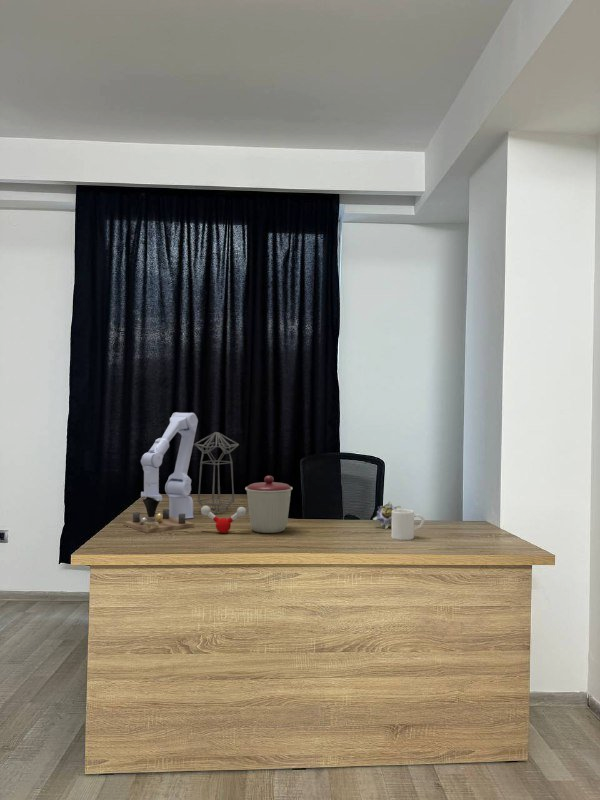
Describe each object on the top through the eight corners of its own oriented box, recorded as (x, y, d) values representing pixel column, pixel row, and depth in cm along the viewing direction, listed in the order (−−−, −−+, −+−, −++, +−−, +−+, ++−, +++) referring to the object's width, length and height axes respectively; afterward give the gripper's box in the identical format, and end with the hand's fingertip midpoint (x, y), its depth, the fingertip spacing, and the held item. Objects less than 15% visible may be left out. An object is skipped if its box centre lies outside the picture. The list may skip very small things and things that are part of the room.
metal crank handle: (142, 524, 281) (142, 516, 281) (139, 523, 283) (139, 515, 283) (163, 522, 287) (163, 513, 287) (160, 521, 289) (160, 512, 289)
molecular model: (247, 532, 276) (247, 506, 275) (243, 535, 270) (243, 508, 270) (202, 530, 279) (203, 504, 279) (198, 533, 274) (198, 506, 273)
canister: (302, 531, 279) (302, 475, 279) (268, 537, 266) (268, 479, 266) (268, 524, 292) (269, 471, 292) (234, 531, 279) (235, 475, 278)
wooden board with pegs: (169, 520, 301) (169, 507, 301) (194, 527, 285) (194, 514, 285) (124, 525, 288) (124, 512, 288) (147, 533, 273) (147, 519, 273)
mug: (425, 540, 263) (425, 513, 262) (391, 539, 264) (391, 512, 264) (424, 536, 271) (424, 509, 270) (391, 535, 272) (391, 508, 272)
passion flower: (386, 542, 285) (368, 518, 284) (388, 532, 296) (371, 508, 295) (410, 528, 282) (392, 503, 281) (411, 518, 293) (394, 493, 292)
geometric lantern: (214, 507, 333) (215, 430, 332) (241, 511, 324) (241, 432, 323) (190, 512, 320) (190, 432, 320) (217, 516, 311) (217, 433, 310)
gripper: (133, 481, 294) (133, 515, 295) (150, 485, 283) (150, 520, 283) (149, 480, 299) (149, 513, 299) (167, 484, 287) (166, 518, 288)
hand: (151, 516), depth 291 cm, fingers closed
